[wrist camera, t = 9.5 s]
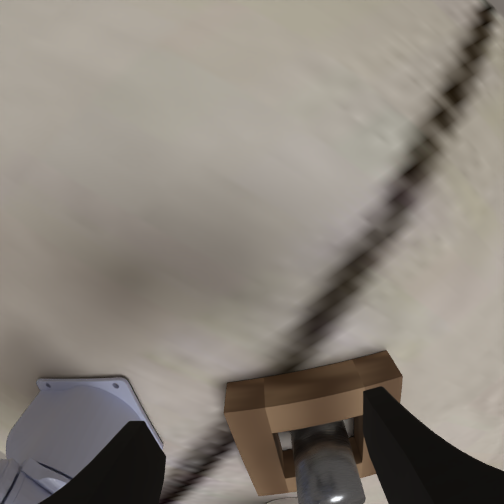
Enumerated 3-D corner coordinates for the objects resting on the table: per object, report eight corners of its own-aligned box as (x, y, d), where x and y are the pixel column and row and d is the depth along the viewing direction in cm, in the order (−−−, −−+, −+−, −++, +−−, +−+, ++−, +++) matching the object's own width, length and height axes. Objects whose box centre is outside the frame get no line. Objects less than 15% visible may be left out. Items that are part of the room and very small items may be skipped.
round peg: (294, 441, 22) (303, 524, 14) (285, 409, 21) (294, 500, 13) (343, 430, 22) (364, 510, 14) (339, 397, 21) (366, 485, 13)
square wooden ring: (258, 469, 23) (258, 496, 20) (227, 382, 20) (223, 412, 17) (380, 445, 23) (389, 469, 20) (386, 350, 20) (402, 376, 17)
